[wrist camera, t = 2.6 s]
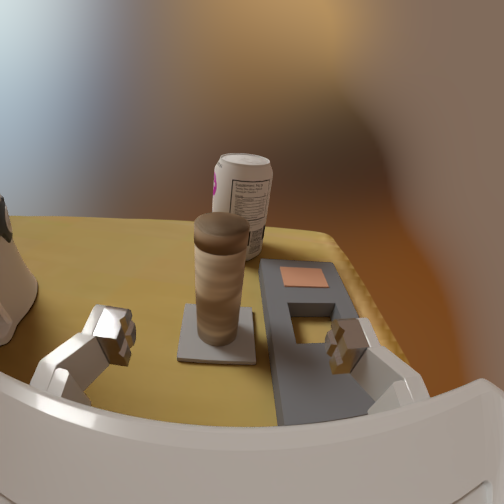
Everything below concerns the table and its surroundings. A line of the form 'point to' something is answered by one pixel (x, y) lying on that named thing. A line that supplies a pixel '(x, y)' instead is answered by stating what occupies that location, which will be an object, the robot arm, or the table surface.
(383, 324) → the table surface
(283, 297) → the socket board
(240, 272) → the maple peg
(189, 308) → the pad
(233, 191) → the supplement can
